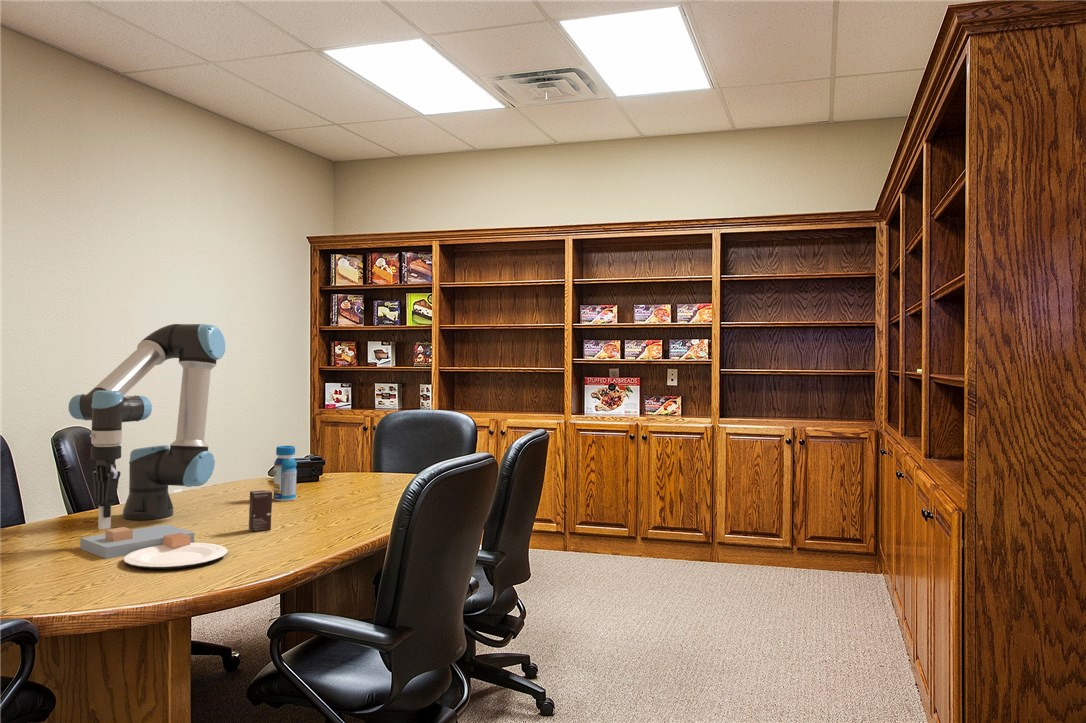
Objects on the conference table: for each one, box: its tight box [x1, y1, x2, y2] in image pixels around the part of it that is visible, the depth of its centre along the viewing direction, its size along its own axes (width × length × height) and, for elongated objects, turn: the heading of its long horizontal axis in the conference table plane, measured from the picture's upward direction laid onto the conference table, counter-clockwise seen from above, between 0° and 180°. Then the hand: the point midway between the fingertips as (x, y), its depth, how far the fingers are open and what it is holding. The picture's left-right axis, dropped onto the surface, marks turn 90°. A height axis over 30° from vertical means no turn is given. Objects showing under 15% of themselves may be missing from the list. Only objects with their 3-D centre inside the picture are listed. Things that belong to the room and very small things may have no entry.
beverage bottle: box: [272, 445, 298, 502], centre depth 292 cm, size 8×8×20 cm
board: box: [79, 524, 195, 560], centre depth 218 cm, size 16×24×3 cm, turn 142°
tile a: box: [163, 533, 190, 548], centre depth 214 cm, size 5×5×2 cm
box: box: [248, 489, 273, 533], centre depth 241 cm, size 6×4×12 cm
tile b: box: [105, 526, 134, 542], centre depth 213 cm, size 5×5×2 cm
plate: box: [122, 542, 228, 570], centre depth 205 cm, size 25×25×2 cm
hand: (104, 528), depth 219 cm, fingers closed
